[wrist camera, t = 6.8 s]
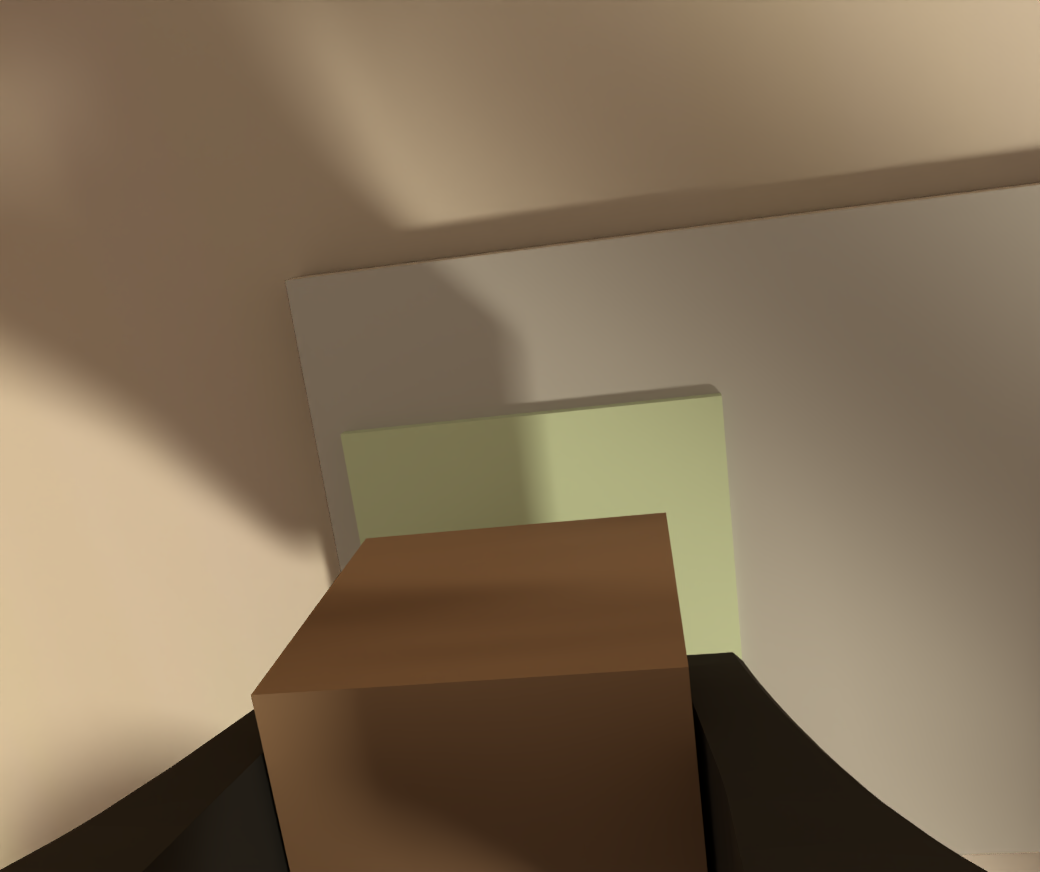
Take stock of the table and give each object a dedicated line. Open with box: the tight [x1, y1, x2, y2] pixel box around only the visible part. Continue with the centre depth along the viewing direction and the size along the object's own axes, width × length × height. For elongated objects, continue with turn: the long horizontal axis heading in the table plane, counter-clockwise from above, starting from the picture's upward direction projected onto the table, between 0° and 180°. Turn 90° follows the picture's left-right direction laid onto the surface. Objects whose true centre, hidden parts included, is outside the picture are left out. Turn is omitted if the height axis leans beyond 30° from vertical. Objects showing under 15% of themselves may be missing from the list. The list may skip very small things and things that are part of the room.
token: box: [251, 512, 708, 872], centre depth 11 cm, size 4×4×4 cm
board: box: [285, 183, 1040, 855], centre depth 15 cm, size 18×11×1 cm, turn 98°
